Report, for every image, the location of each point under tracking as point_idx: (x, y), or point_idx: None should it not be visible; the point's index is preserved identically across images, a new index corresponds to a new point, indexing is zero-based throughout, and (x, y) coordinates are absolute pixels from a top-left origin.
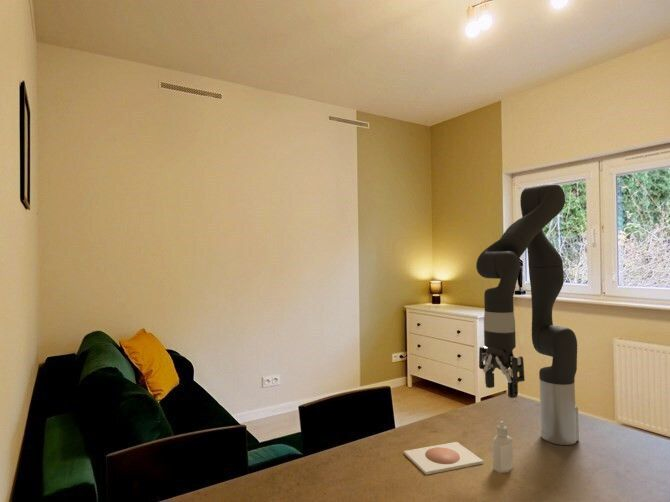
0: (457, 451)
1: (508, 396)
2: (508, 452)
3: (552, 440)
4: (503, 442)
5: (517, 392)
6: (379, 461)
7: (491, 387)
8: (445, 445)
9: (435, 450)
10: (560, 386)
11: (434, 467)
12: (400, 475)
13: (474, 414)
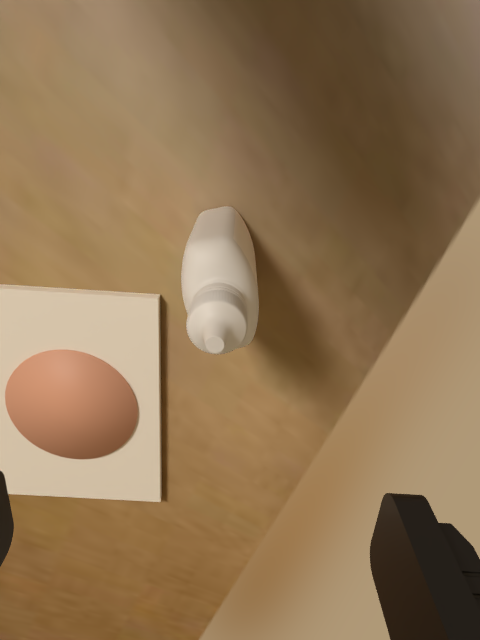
0: (52, 338)
1: (374, 564)
2: (256, 275)
3: None
4: (256, 323)
5: (477, 565)
6: (43, 559)
7: (7, 497)
8: None
9: (29, 410)
10: None
11: (144, 469)
12: (140, 546)
13: None
